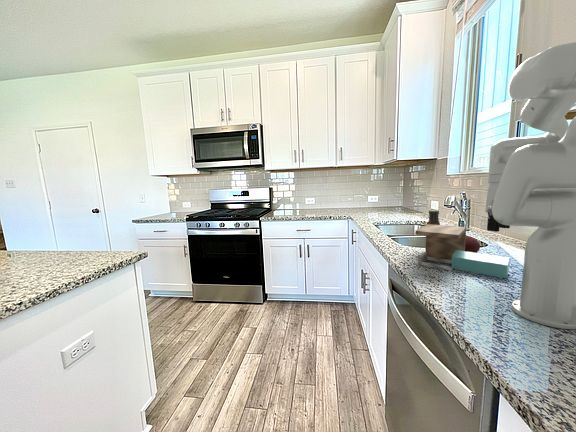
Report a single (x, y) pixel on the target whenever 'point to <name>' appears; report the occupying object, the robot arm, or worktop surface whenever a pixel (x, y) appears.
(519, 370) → the worktop surface
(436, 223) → the sauce bottle
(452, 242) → the overhang shelf
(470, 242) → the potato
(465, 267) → the teal rectangular block
